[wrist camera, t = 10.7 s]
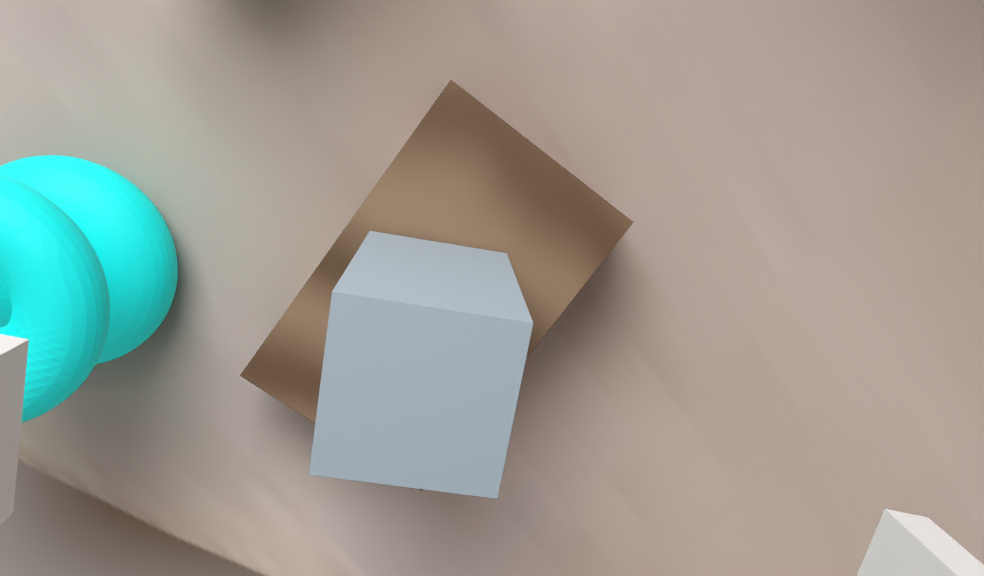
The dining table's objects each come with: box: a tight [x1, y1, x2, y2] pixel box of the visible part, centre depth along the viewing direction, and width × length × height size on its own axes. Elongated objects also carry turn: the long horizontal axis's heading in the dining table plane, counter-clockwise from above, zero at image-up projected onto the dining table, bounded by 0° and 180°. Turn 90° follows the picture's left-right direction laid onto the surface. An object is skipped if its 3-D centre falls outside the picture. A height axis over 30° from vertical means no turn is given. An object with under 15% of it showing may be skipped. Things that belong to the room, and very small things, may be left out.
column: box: [309, 231, 533, 499], centre depth 26 cm, size 6×6×10 cm
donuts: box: [0, 155, 178, 423], centre depth 29 cm, size 10×10×10 cm
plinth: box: [240, 80, 633, 491], centre depth 33 cm, size 16×10×5 cm, turn 143°
